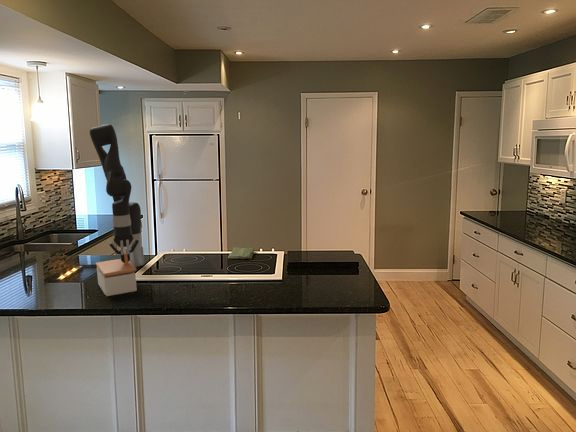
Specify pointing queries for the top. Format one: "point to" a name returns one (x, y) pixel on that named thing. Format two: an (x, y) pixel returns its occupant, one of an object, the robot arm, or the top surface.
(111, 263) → the snap lid
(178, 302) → the top surface
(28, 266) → the top surface
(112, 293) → the parts tub
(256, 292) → the top surface
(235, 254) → the washcloth
